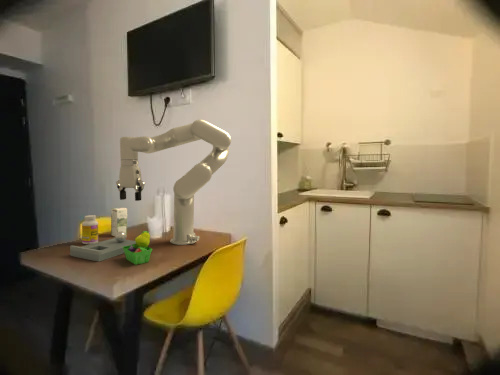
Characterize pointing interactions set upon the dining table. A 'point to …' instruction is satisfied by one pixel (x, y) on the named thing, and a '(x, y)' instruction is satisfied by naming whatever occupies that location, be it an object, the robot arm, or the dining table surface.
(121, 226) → the syrup box
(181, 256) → the dining table surface
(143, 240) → the fruit basket
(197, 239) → the robot arm
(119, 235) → the ball
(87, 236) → the supplement bottle
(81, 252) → the board
